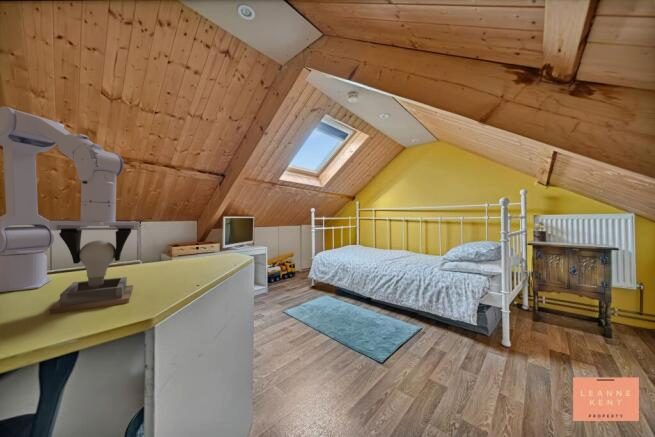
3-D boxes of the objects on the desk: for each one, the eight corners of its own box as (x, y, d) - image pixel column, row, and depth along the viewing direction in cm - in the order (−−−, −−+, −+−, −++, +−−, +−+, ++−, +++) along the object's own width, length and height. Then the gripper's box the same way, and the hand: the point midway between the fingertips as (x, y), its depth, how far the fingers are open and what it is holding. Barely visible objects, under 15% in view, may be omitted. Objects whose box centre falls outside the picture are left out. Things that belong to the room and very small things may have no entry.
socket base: (66, 296, 55) (66, 282, 55) (132, 288, 62) (133, 275, 62) (49, 314, 46) (49, 296, 46) (128, 302, 53) (129, 287, 53)
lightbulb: (91, 293, 50) (95, 242, 50) (68, 290, 51) (72, 240, 51) (120, 285, 56) (124, 240, 56) (98, 282, 57) (102, 238, 57)
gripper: (44, 199, 46) (42, 268, 46) (138, 204, 54) (137, 261, 55) (56, 200, 51) (55, 261, 52) (140, 204, 60) (139, 256, 60)
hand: (97, 261), depth 54 cm, fingers closed on lightbulb, 6 cm apart
